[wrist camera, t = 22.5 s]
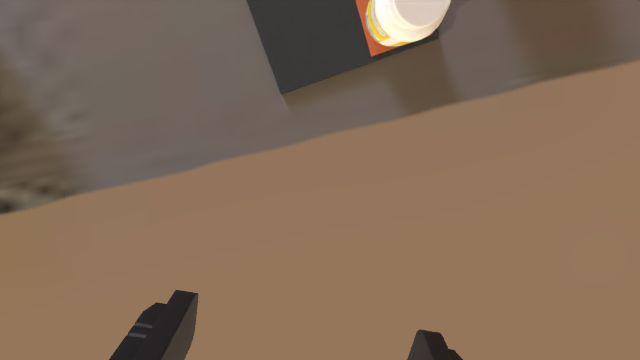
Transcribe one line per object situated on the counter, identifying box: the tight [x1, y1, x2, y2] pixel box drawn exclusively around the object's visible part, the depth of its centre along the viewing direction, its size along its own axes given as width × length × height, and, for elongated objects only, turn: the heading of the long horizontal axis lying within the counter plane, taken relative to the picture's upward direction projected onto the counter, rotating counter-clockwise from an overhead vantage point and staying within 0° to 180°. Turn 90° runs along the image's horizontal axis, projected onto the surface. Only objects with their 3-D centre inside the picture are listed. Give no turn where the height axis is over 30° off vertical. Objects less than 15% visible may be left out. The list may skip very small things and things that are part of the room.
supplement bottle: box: [365, 0, 451, 47], centre depth 28 cm, size 5×5×10 cm
